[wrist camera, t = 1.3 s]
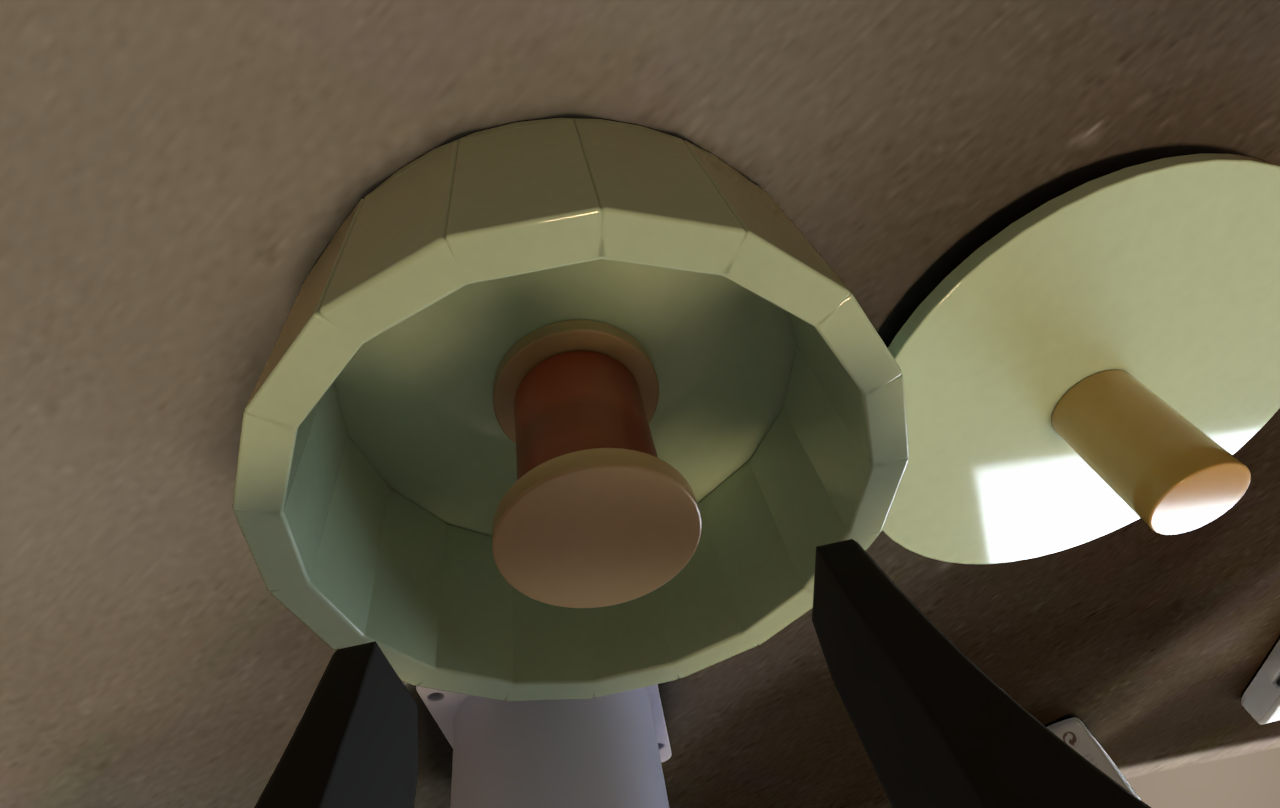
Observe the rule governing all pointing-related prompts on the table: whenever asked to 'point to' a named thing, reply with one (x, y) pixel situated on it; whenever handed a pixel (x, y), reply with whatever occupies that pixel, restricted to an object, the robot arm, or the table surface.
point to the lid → (1095, 365)
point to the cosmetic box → (1089, 749)
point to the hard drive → (1265, 690)
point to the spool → (587, 471)
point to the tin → (486, 458)
